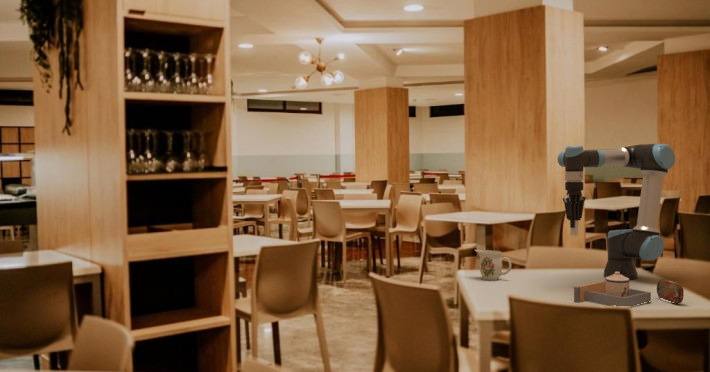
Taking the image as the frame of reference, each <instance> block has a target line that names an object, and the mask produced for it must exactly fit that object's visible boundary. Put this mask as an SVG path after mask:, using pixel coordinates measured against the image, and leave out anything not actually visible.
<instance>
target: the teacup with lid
mask: <svg viewBox="0 0 710 372" xmlns="http://www.w3.org/2000/svg"><path fill="white" fill-rule="evenodd" d="M630 280H631V279H630ZM630 280H629V278H627V277H624V276H623V275H621V274H620V272H615V274H613V275H611V276H608V277H605V280H604V281H606V294H608V295H613V296H618V297H627V296H629V289H630Z"/></svg>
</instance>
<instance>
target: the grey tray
mask: <svg viewBox="0 0 710 372" xmlns="http://www.w3.org/2000/svg"><path fill="white" fill-rule="evenodd" d="M651 294H652V293H651V291H645V290H640V289H633V288H629V296H627V297H618V296H613V295H608V294H602V293H597V292H592V291H586V300H585V302H591V303H596V304H601V305H606V306H609V305H616V306H633V305H637V304H641V303H644V302H649V301H651V302H652V295H651ZM573 303H580V287H578V286H573ZM649 303H650V302H649ZM641 305H642V304H641ZM637 306H638V305H637ZM633 307H634V306H633Z"/></svg>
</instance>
